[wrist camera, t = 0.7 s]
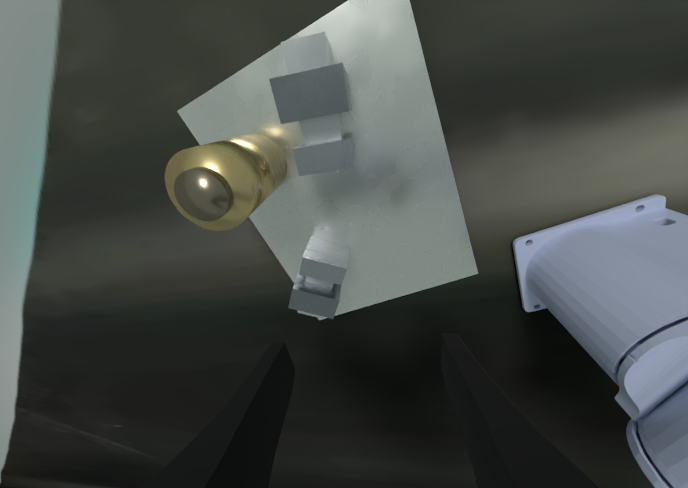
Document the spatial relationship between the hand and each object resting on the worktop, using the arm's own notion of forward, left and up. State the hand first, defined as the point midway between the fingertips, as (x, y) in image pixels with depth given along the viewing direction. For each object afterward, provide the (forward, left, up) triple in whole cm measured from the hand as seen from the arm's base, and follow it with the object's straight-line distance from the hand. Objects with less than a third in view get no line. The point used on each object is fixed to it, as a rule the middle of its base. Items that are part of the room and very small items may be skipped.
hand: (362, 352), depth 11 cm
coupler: (+4, -9, -10) cm, 14 cm away
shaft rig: (0, -4, -10) cm, 11 cm away
